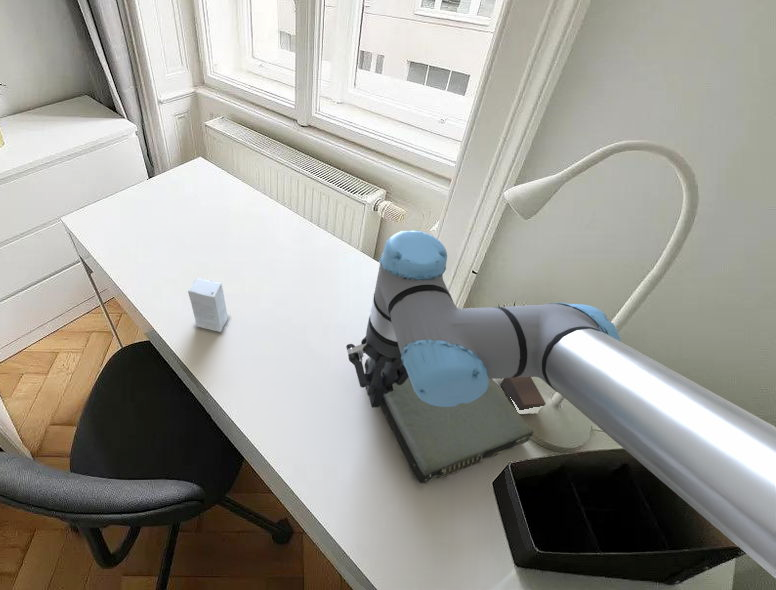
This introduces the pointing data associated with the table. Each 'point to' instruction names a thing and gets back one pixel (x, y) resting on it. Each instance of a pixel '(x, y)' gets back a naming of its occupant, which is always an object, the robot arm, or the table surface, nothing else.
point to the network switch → (451, 429)
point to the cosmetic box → (208, 304)
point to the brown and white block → (522, 392)
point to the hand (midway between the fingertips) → (374, 399)
